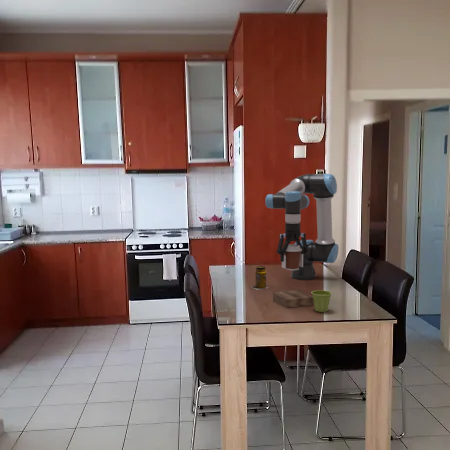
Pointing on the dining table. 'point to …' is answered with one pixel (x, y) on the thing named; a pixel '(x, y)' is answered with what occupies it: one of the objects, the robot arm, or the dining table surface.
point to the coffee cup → (293, 257)
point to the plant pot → (321, 300)
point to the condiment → (260, 278)
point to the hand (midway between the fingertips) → (292, 267)
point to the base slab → (293, 298)
